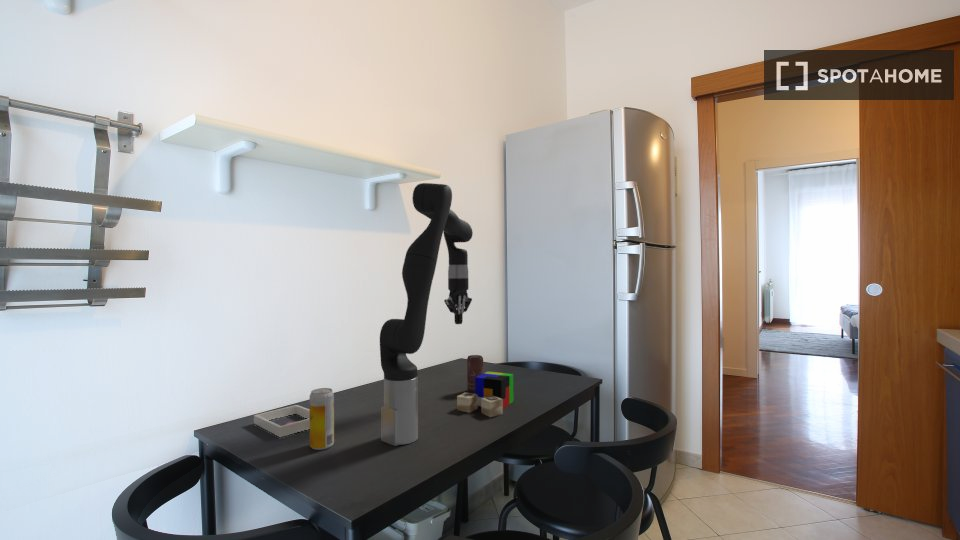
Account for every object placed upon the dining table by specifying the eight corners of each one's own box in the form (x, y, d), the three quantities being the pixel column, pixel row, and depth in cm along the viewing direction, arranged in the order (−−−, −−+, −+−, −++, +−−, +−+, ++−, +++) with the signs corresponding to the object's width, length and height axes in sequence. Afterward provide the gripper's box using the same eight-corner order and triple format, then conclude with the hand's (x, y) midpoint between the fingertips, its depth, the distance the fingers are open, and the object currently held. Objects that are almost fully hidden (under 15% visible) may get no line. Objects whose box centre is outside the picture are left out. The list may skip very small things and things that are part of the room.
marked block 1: (469, 413, 145) (469, 397, 145) (457, 411, 147) (456, 395, 147) (477, 409, 149) (477, 393, 149) (465, 407, 152) (464, 392, 152)
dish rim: (279, 440, 122) (279, 427, 123) (253, 426, 133) (253, 415, 133) (324, 426, 133) (324, 415, 133) (297, 415, 144) (297, 404, 144)
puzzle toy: (475, 406, 153) (475, 377, 153) (488, 398, 161) (488, 371, 162) (501, 410, 148) (501, 380, 148) (513, 402, 157) (513, 374, 157)
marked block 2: (490, 417, 141) (490, 401, 141) (481, 413, 145) (481, 397, 145) (502, 414, 143) (502, 398, 143) (493, 410, 147) (493, 395, 148)
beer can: (320, 441, 121) (320, 386, 121) (338, 444, 119) (338, 388, 119) (304, 449, 116) (304, 392, 116) (323, 453, 113) (322, 394, 113)
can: (482, 394, 166) (482, 357, 166) (466, 394, 167) (465, 357, 167) (484, 390, 172) (484, 354, 172) (468, 390, 173) (468, 354, 173)
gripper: (452, 277, 156) (453, 326, 156) (477, 277, 166) (478, 323, 166) (438, 277, 161) (438, 325, 161) (463, 277, 171) (463, 321, 171)
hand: (458, 324), depth 163 cm, fingers closed
